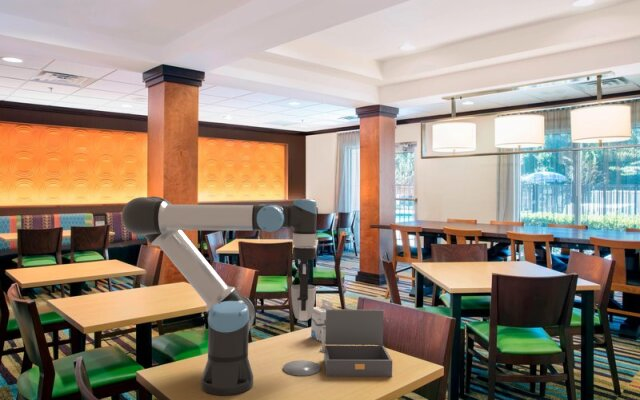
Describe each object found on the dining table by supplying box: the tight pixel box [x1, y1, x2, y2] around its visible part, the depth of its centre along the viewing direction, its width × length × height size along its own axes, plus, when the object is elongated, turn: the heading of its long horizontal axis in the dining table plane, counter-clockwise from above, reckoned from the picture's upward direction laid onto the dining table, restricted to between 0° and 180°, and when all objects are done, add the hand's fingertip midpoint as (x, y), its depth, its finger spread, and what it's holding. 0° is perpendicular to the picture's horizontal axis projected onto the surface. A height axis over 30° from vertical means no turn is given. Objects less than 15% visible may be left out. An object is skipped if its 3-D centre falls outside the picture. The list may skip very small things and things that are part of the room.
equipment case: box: [321, 308, 393, 378], centre depth 154 cm, size 22×16×17 cm
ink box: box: [310, 298, 334, 343], centre depth 185 cm, size 9×5×15 cm, turn 30°
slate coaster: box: [282, 359, 321, 377], centre depth 152 cm, size 12×12×1 cm
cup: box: [290, 284, 317, 320], centre depth 152 cm, size 8×8×10 cm
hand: (302, 316), depth 152 cm, fingers closed on cup, 8 cm apart
